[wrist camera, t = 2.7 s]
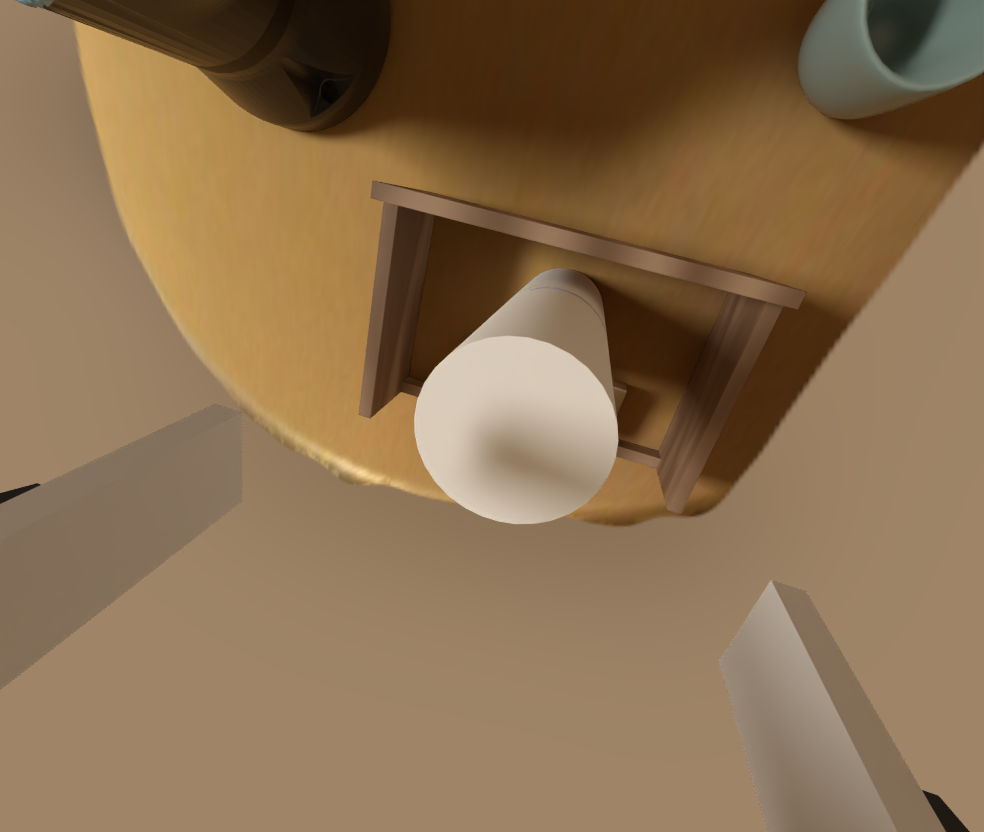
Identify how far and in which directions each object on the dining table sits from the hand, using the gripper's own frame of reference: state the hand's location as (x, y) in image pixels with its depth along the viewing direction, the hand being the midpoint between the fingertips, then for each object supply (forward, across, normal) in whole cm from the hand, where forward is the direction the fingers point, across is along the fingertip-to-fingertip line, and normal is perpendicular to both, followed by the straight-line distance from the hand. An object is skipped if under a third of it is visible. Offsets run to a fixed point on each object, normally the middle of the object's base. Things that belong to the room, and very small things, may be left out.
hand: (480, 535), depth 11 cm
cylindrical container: (+30, 0, 0) cm, 31 cm away
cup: (+30, +13, +20) cm, 39 cm away
